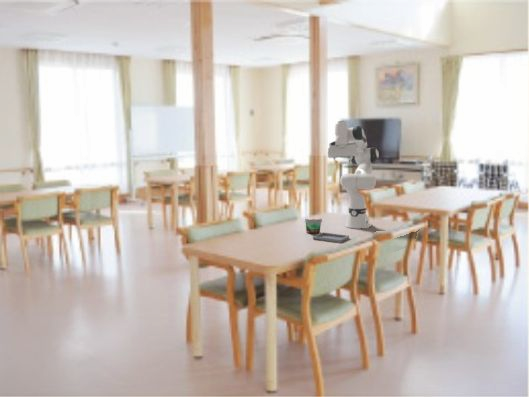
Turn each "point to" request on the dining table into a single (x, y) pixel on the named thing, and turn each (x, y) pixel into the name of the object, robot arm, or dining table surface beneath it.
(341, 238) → the tray
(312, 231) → the food container
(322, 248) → the dining table surface
